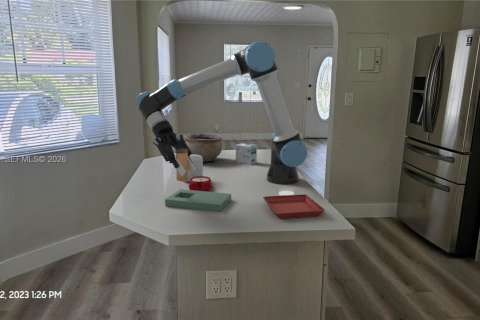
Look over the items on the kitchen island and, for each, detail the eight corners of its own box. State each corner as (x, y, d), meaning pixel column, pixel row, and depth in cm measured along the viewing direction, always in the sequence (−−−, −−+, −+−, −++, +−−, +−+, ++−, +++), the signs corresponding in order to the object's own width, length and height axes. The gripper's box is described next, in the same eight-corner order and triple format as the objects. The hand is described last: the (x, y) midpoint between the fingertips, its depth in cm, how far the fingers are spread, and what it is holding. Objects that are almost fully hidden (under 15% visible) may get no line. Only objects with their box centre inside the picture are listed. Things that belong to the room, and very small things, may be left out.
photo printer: (200, 177, 181) (199, 152, 178) (204, 179, 178) (204, 154, 175) (180, 180, 175) (180, 155, 173) (184, 182, 172) (184, 156, 169)
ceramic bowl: (202, 155, 234) (202, 131, 230) (230, 160, 221) (230, 135, 218) (177, 161, 216) (176, 136, 213) (205, 166, 204) (205, 139, 200)
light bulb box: (256, 163, 214) (257, 144, 212) (251, 165, 209) (251, 146, 206) (241, 160, 220) (241, 142, 217) (235, 162, 214) (235, 144, 212)
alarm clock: (211, 175, 171) (212, 176, 156) (212, 189, 171) (212, 191, 156) (189, 176, 170) (187, 177, 155) (189, 189, 170) (187, 192, 155)
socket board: (231, 199, 148) (231, 193, 148) (220, 211, 135) (220, 204, 134) (180, 194, 154) (180, 189, 153) (165, 205, 141) (164, 199, 140)
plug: (189, 178, 145) (189, 148, 143) (185, 181, 141) (184, 150, 139) (179, 177, 147) (178, 147, 144) (174, 180, 142) (173, 149, 140)
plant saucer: (325, 218, 130) (325, 209, 130) (276, 221, 127) (276, 212, 126) (305, 201, 148) (306, 193, 147) (262, 204, 144) (262, 196, 143)
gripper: (173, 129, 156) (200, 174, 150) (137, 133, 143) (166, 182, 137) (181, 118, 152) (209, 163, 145) (145, 121, 139) (175, 171, 132)
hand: (188, 172), depth 141 cm, fingers closed on plug, 4 cm apart
